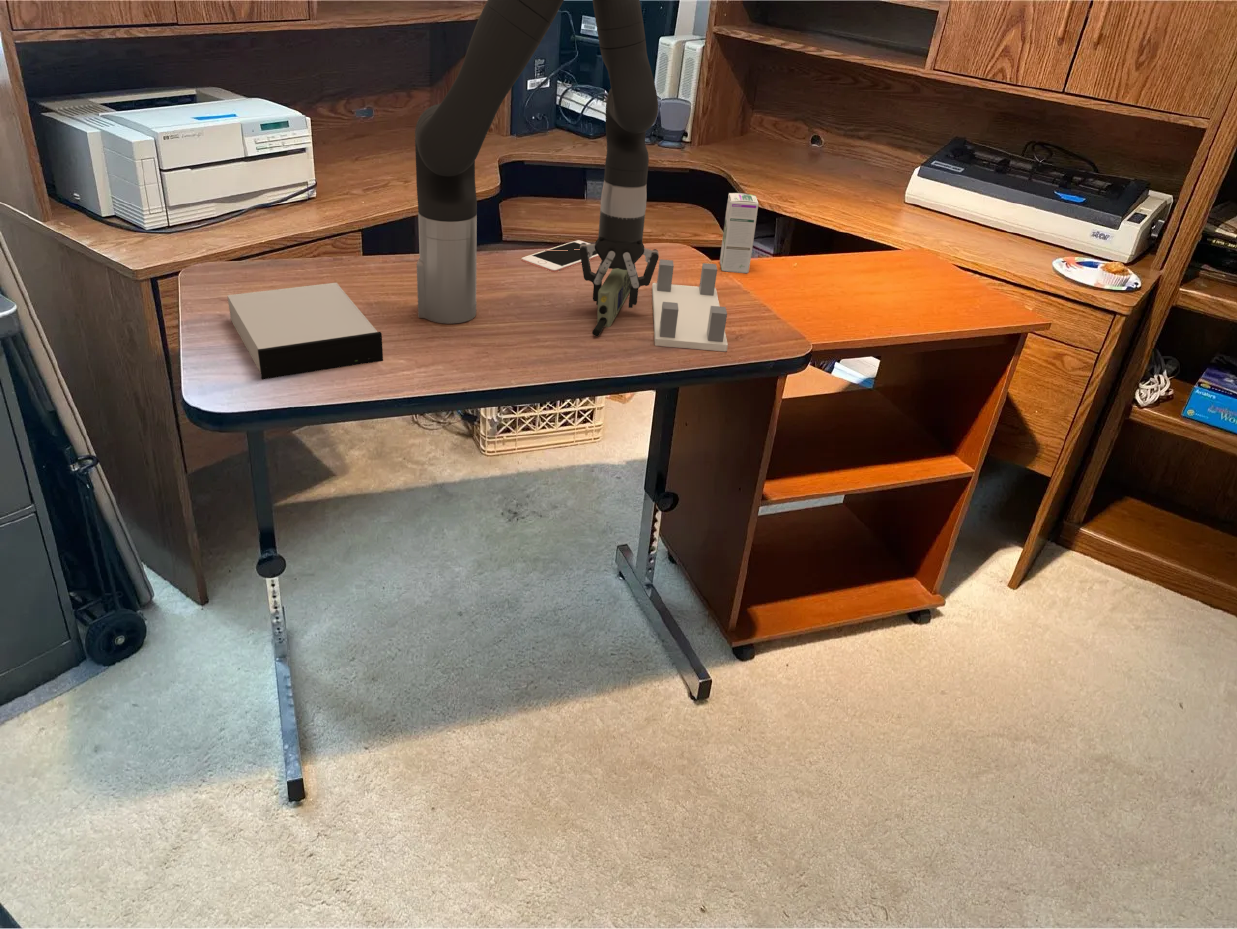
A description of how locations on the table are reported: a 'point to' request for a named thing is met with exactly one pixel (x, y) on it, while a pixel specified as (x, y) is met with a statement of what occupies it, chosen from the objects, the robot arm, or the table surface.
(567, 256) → the cell phone
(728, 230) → the syrup box
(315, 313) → the disc drive
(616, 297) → the handheld radio
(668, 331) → the rack
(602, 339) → the table surface
